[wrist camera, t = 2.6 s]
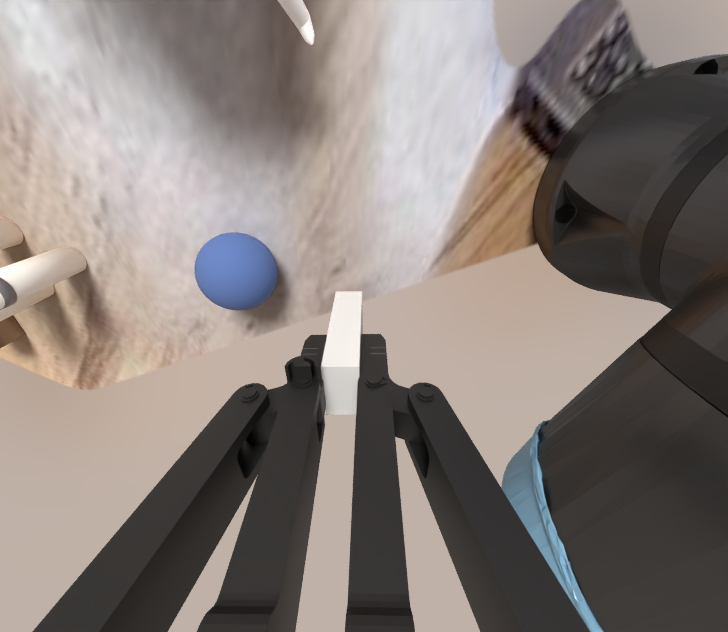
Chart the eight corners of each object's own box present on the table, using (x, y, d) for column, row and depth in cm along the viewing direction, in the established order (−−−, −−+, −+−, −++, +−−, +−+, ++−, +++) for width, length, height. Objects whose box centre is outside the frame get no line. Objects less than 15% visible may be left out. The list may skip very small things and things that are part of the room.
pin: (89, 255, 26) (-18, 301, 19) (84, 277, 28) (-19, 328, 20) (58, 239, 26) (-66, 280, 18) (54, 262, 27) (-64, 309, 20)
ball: (297, 250, 26) (279, 279, 21) (267, 301, 28) (245, 337, 23) (231, 209, 24) (193, 228, 19) (206, 266, 27) (166, 298, 22)
